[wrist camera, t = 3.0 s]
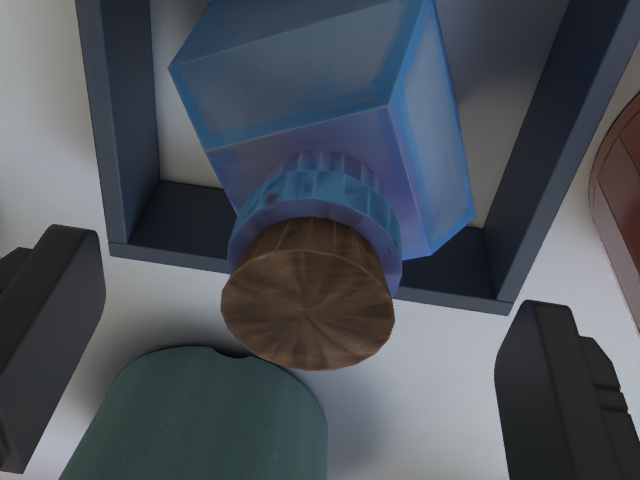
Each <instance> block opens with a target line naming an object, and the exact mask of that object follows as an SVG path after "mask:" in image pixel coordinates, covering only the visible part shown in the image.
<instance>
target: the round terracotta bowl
mask: <svg viewBox="0 0 640 480" xmlns="http://www.w3.org/2000/svg"><path fill="white" fill-rule="evenodd" d="M589 205H590V212H591V216H592V219H593V223H594V226H595V228H596V231H597V233H598V236H599V239H600V241H601V244H602V247H603V250H604V253H605V255H606V258H607V260H608V262H609V265H610V267H611V270H612V272H613V275H614V277H615V280H616V282H617V285H618V287H619V290H620V292H621V295H622V297H623V300H624V302H625V305H626V307H627V310H628V312H629V315H630V317H631V319H632V322H633V324H634V327H635V329H636V332H637V334H638V337H639V339H640V93H639V94H638V95H637V96H636V97H635V98H634V100H633V101H632V102H631V103H630V104H629V105H628V106H627V107H626V108H625V109H624V111H623V112H622V113H621V115H620V116H619V118H618V119H617V120H616V122H615V123H614V124H613V126H612V127H611V129H610V131H609V132H608V134H607V136H606V138H605V139H604V141H603V143H602V145H601V147H600V150H599V152H598V155H597V157H596V159H595V162H594V166H593V170H592V174H591V178H590V186H589Z"/></svg>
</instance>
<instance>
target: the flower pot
mask: <svg viewBox="0 0 640 480" xmlns="http://www.w3.org/2000/svg"><path fill="white" fill-rule="evenodd" d="M59 480H327V422H326V418H325V414H324V411H323V409H322V408H321V406H320V404H319V403H318V401H317V400H316V398H315V397H314V396H313V395H312V393H311V392H310V391H309V390H308V389H307V388H306V387H305V386H304V385H303V384H301V383H300V382H299V381H298V380H297V379H295V378H294V377H292V376H291V375H290V374H288V373H287V372H285V371H283V370H282V369H280V368H278V367H276V366H274V365H272V364H270V363H268V362H266V361H263V360H261V359H258V358H256V357H253V356H249V357H246V358H241V359H236V358H231V357H227V356H224V355H221V354H219V353H217V352H216V351H215V350H214V349H213V348H211V347H199V346H189V347H176V348H169V349H164V350H160V351H157V352H153V353H150V354H147V355H145V356H142V357H140V358H138V359H137V360H135V361H133V362H131V363H130V364H129V365H128V366H126V367H125V368H124V369H123V370H122V371H121V372H120V374H119V375H118V376H117V378H116V379H115V381H114V383H113V385H112V386H111V388H110V390H109V392H108V393H107V395H106V397H105V399H104V400H103V402H102V404H101V406H100V408H99V409H98V411H97V413H96V415H95V417H94V418H93V420H92V422H91V424H90V425H89V427H88V429H87V431H86V432H85V434H84V436H83V438H82V439H81V441H80V443H79V445H78V446H77V448H76V450H75V452H74V453H73V455H72V457H71V458H70V460H69V462H68V464H67V465H66V467H65V469H64V471H63V472H62V474H61V476H60V478H59Z"/></svg>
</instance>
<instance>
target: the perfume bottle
mask: <svg viewBox="0 0 640 480" xmlns="http://www.w3.org/2000/svg"><path fill="white" fill-rule="evenodd" d="M168 70H169V72H170V74H171V77H172V79H173V81H174V84H175V86H176V88H177V90H178V93H179V95H180V97H181V99H182V102H183V104H184V106H185V109H186V111H187V113H188V115H189V118H190V120H191V122H192V124H193V127H194V129H195V131H196V133H197V136H198V138H199V140H200V143H201V145H202V147H203V149H204V152H205V154H206V156H207V158H208V159H209V161H210V163H211V165H212V167H213V169H214V171H215V173H216V175H217V177H218V179H219V181H220V183H221V185H222V187H223V189H224V191H225V193H226V195H227V197H228V199H229V200H230V202H231V204H232V206H233V208H234V210H235V212H236V214H237V219H236V222H235V225H234V228H233V231H232V234H231V237H230V241H229V244H228V254H227V267H228V270H229V273H230V278H229V280H228V281H227V283H226V285H225V287H224V288H223V290H222V296H221V313H222V315H223V318H224V321H225V323H226V326H227V328H228V330H229V331H230V332H231V333H232V334H233V336H234V337H235V338H236V339H237V340H238V341H239V343H240V344H241V345H242V346H244V347H245V348H247V349H248V350H250V351H251V352H253V353H254V354H256V355H257V356H259V357H260V358H263V359H265V360H268V361H270V362H273V363H275V364H278V365H281V366H283V367H289V368H294V369H300V370H306V371H320V370H336V369H340V368H344V367H348V366H352V365H355V364H358V363H360V362H361V361H363V360H365V359H367V358H369V357H370V356H372V355H374V354H376V353H377V351H378V350H379V349H380V348H381V347H382V346H383V345H384V344H385V343H386V342H387V340H388V339H389V337H390V334H391V331H392V328H393V325H394V323H395V317H394V309H393V302H392V298H393V297H394V296H395V295H396V292H397V289H398V286H399V283H400V280H401V277H402V260H408V259H413V258H419V257H424V256H430V255H432V254H433V253H434V252H435V251H436V250H438V249H439V248H440V247H441V246H442V245H443V244H445V243H446V242H447V241H448V240H449V239H451V238H452V237H453V236H454V235H455V234H456V233H458V232H459V231H460V230H461V229H462V228H463V227H465V226H466V225H467V224H468V223H469V222H471V221H472V220H473V219H474V218H475V211H474V205H473V199H472V193H471V187H470V181H469V175H468V169H467V164H466V158H465V152H464V146H463V140H462V134H461V128H460V122H459V116H458V110H457V105H456V100H455V96H454V91H453V86H452V81H451V76H450V72H449V67H448V62H447V57H446V53H445V48H444V43H443V38H442V33H441V29H440V24H439V19H438V14H437V10H436V5H435V0H212V2H211V3H210V5H209V6H208V8H207V9H206V11H205V12H204V14H203V15H202V17H201V18H200V20H199V21H198V23H197V24H196V26H195V27H194V29H193V30H192V32H191V33H190V35H189V36H188V38H187V39H186V41H185V42H184V44H183V45H182V47H181V48H180V50H179V51H178V53H177V54H176V56H175V57H174V59H173V61H172V62H171V64H170V65H169V67H168Z"/></svg>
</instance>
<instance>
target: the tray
mask: <svg viewBox="0 0 640 480" xmlns="http://www.w3.org/2000/svg"><path fill="white" fill-rule="evenodd" d="M75 5H76V12H77V19H78V26H79V34H80V41H81V48H82V55H83V63H84V70H85V77H86V84H87V92H88V99H89V106H90V113H91V121H92V128H93V135H94V142H95V150H96V157H97V164H98V171H99V179H100V186H101V193H102V200H103V208H104V215H105V222H106V229H107V237H108V245H109V252H110V256H113V257H120V258H127V259H133V260H140V261H147V262H153V263H160V264H166V265H173V266H180V267H186V268H193V269H199V270H206V271H213V272H219V273H226V274H230V273H229V270H228V267H227V254H228V244H229V241H230V237H231V234H232V231H233V228H234V225H235V222H236V219H237V214H236V212H235V210H234V208H233V206H232V204H231V202H230V200H229V199H228V197H227V195H226V193H225V191H224V190H218V189H211V188H204V187H198V186H191V185H185V184H178V183H172V182H165V181H159V180H160V175H159V159H158V142H157V126H156V109H155V92H154V76H153V59H152V43H151V26H150V9H149V0H75ZM639 39H640V0H570V3H569V5H568V8H567V11H566V13H565V16H564V18H563V21H562V24H561V26H560V29H559V31H558V34H557V37H556V39H555V42H554V45H553V47H552V50H551V52H550V55H549V58H548V60H547V63H546V66H545V68H544V71H543V73H542V76H541V79H540V81H539V84H538V86H537V89H536V92H535V94H534V97H533V100H532V102H531V105H530V107H529V110H528V113H527V115H526V118H525V121H524V123H523V126H522V128H521V131H520V134H519V136H518V139H517V141H516V144H515V147H514V149H513V152H512V155H511V157H510V160H509V162H508V165H507V168H506V170H505V173H504V176H503V178H502V181H501V183H500V186H499V189H498V191H497V194H496V196H495V199H494V202H493V204H492V207H491V210H490V212H489V215H488V217H487V220H486V223H485V225H484V228H483V230H480V229H474V228H467V227H463V228H462V229H461V230H460V231H459V232H458V233H456V234H455V235H454V236H453V237H452V238H451V239H449V240H448V241H447V242H446V243H445V244H443V245H442V246H441V247H440V248H439V249H438V250H436V251H435V252H434V253H433V254H432V255H430V256H424V257H419V258H413V259H408V260H402V277H401V280H400V283H399V286H398V289H397V292H396V295H395V296H394V297H393V298H392V299H398V300H404V301H411V302H418V303H424V304H431V305H437V306H444V307H451V308H457V309H464V310H470V311H477V312H484V313H490V314H497V315H503V316H508V315H509V313H510V311H511V309H512V307H513V305H514V302H515V301H516V298H517V296H518V294H519V292H520V290H521V288H522V286H523V284H524V282H525V279H526V277H527V275H528V273H529V271H530V269H531V267H532V265H533V263H534V260H535V258H536V256H537V254H538V252H539V250H540V248H541V246H542V243H543V241H544V239H545V237H546V235H547V233H548V231H549V229H550V227H551V224H552V222H553V220H554V218H555V216H556V214H557V212H558V210H559V208H560V205H561V203H562V201H563V199H564V197H565V195H566V193H567V191H568V189H569V186H570V184H571V182H572V180H573V178H574V176H575V174H576V172H577V170H578V167H579V165H580V163H581V161H582V159H583V157H584V155H585V153H586V151H587V148H588V146H589V144H590V142H591V140H592V138H593V136H594V134H595V131H596V129H597V127H598V125H599V123H600V121H601V119H602V117H603V115H604V112H605V110H606V108H607V106H608V104H609V102H610V100H611V98H612V96H613V93H614V91H615V89H616V87H617V85H618V83H619V81H620V79H621V77H622V74H623V72H624V70H625V68H626V66H627V64H628V62H629V60H630V58H631V55H632V53H633V51H634V49H635V47H636V45H637V43H638V41H639Z"/></svg>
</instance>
